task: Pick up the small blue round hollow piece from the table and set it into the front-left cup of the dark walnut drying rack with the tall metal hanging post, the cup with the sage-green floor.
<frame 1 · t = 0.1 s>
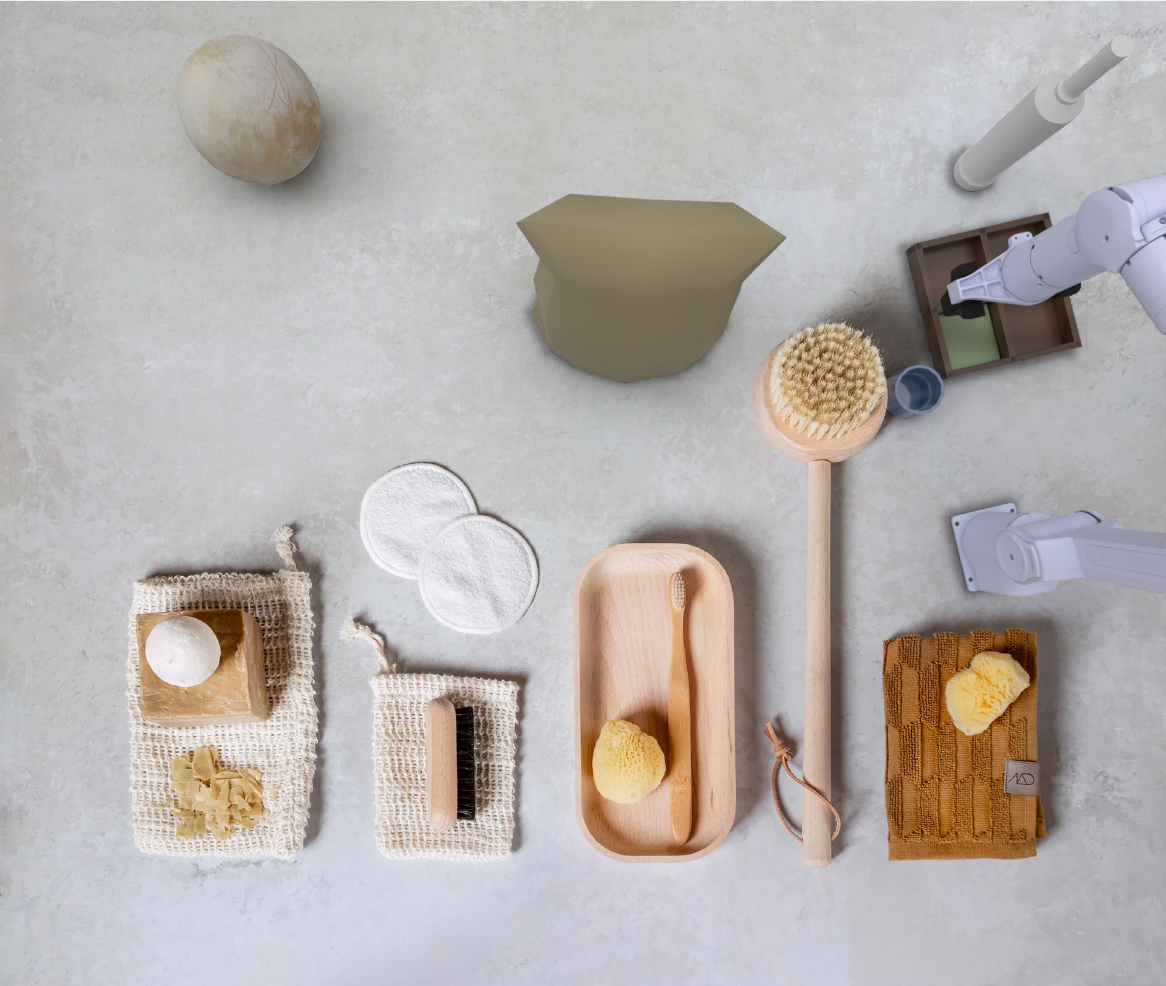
hand: (978, 299, 80), 10 cm above the countertop, tool pointing down, fingers open, 7 cm apart
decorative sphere: (280, 146, 90), on the countertop
rack: (1118, 235, 68), on the countertop
container: (627, 319, 90), on the countertop
blue round hollow piece: (902, 395, 90), on the countertop
bottle: (970, 173, 91), on the countertop
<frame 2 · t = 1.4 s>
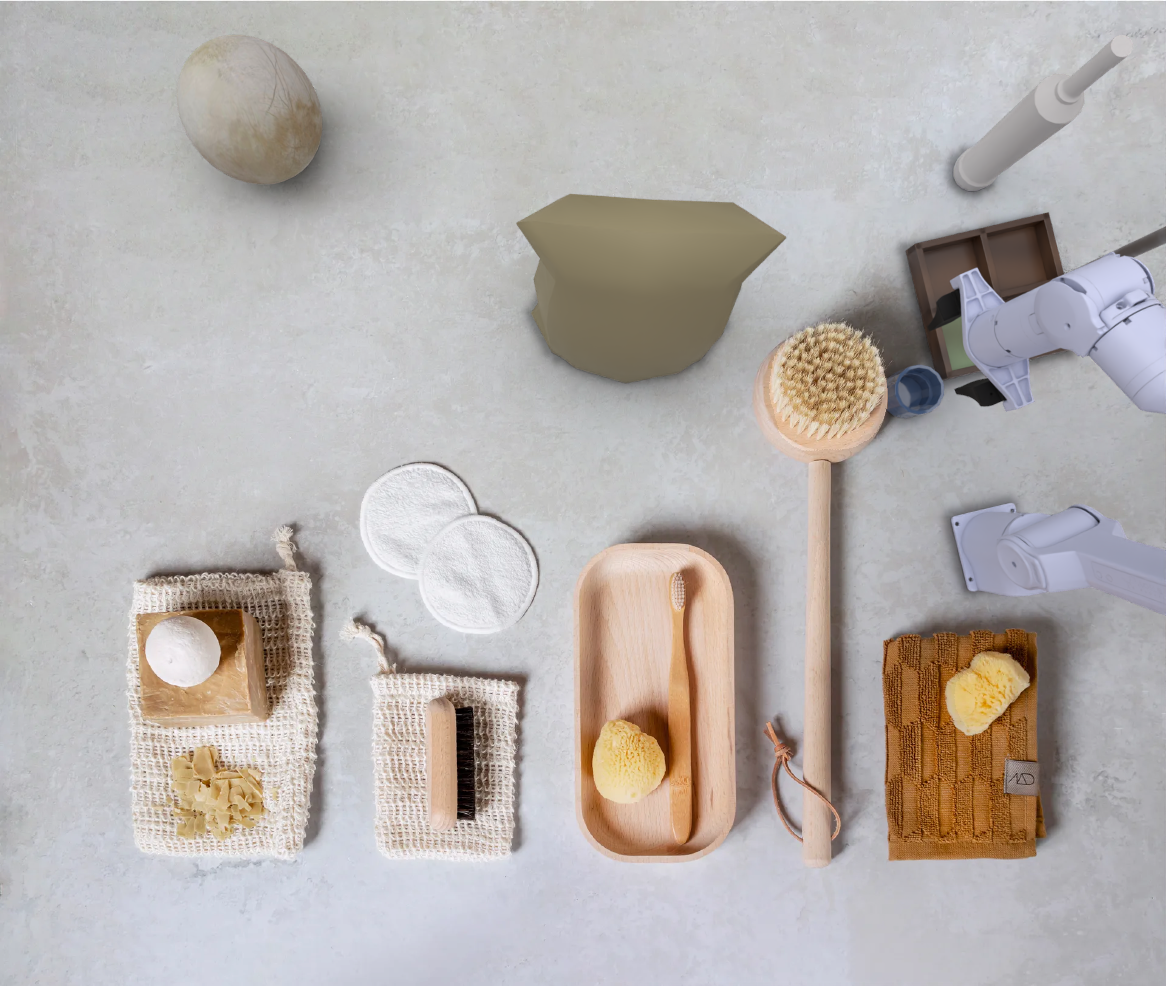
hand: (949, 357, 81), 9 cm above the countertop, tool pointing down, fingers open, 7 cm apart
nothing on the countertop moved.
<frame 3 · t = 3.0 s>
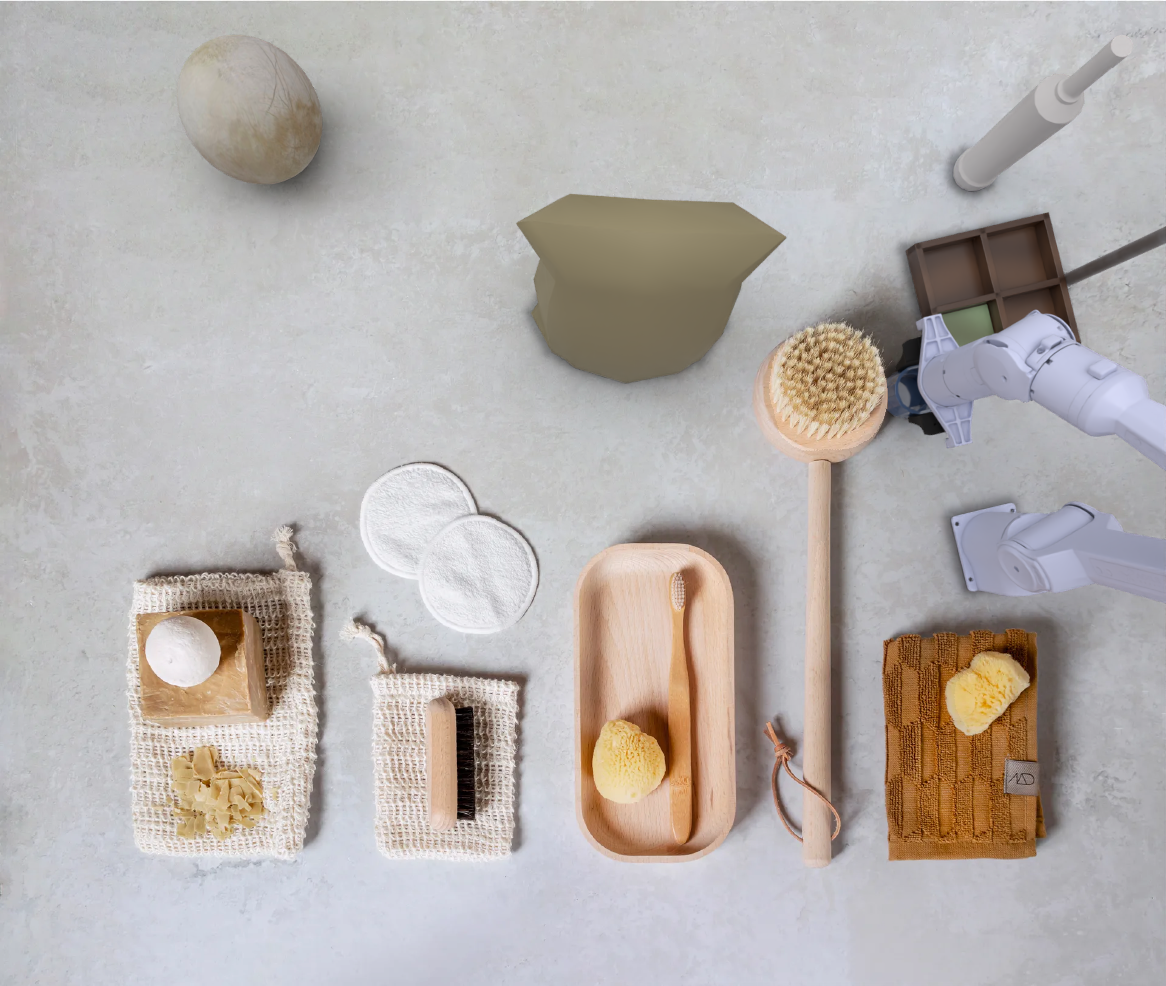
hand: (909, 392, 88), 2 cm above the countertop, tool pointing down, fingers closed on blue round hollow piece, 6 cm apart
blue round hollow piece: (902, 395, 90), on the countertop, touching gripper
everything else where it was.
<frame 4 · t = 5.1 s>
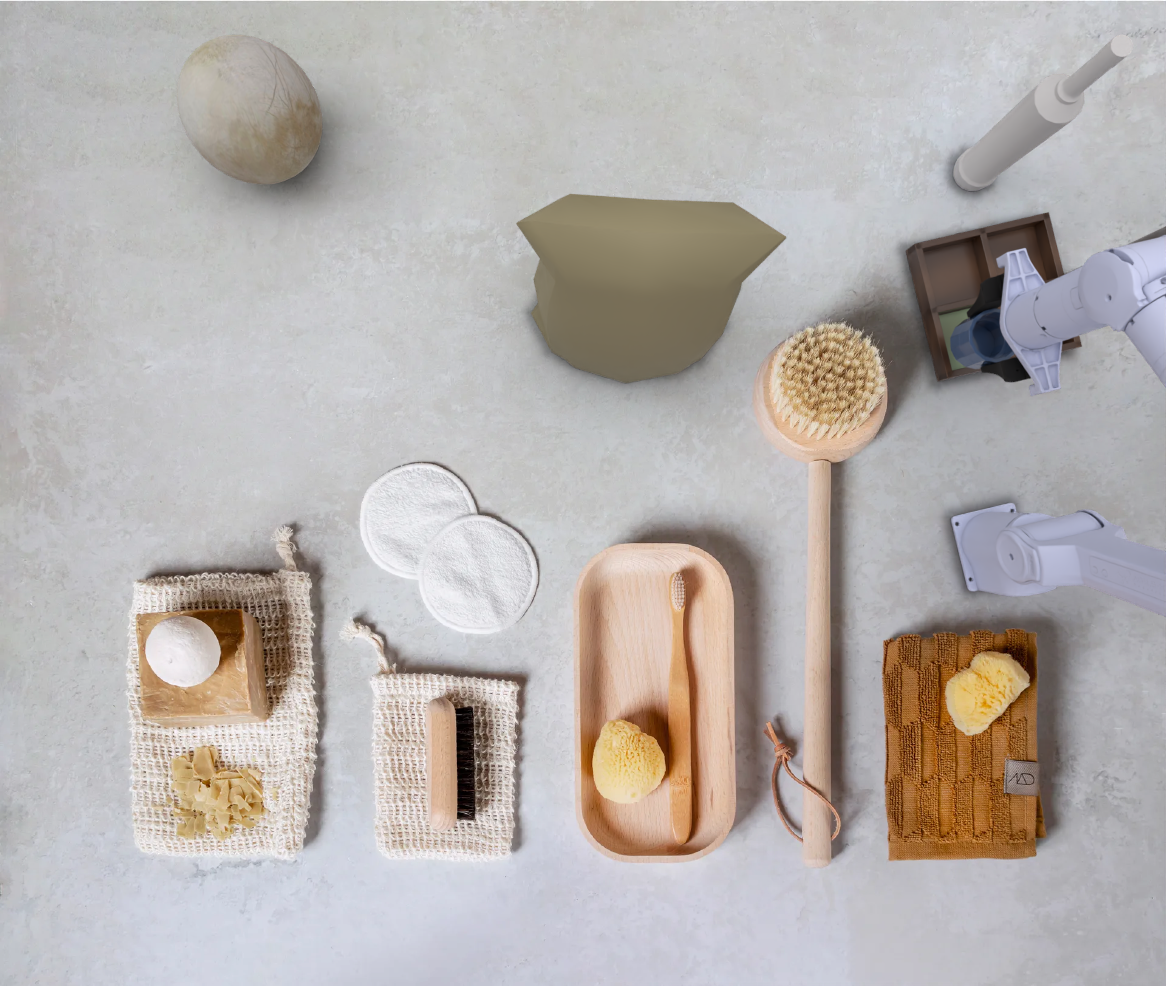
hand: (982, 340, 81), 9 cm above the countertop, tool pointing down, fingers closed on blue round hollow piece, 6 cm apart
blue round hollow piece: (973, 344, 83), point 7 cm above the countertop, touching gripper
everything else where it was.
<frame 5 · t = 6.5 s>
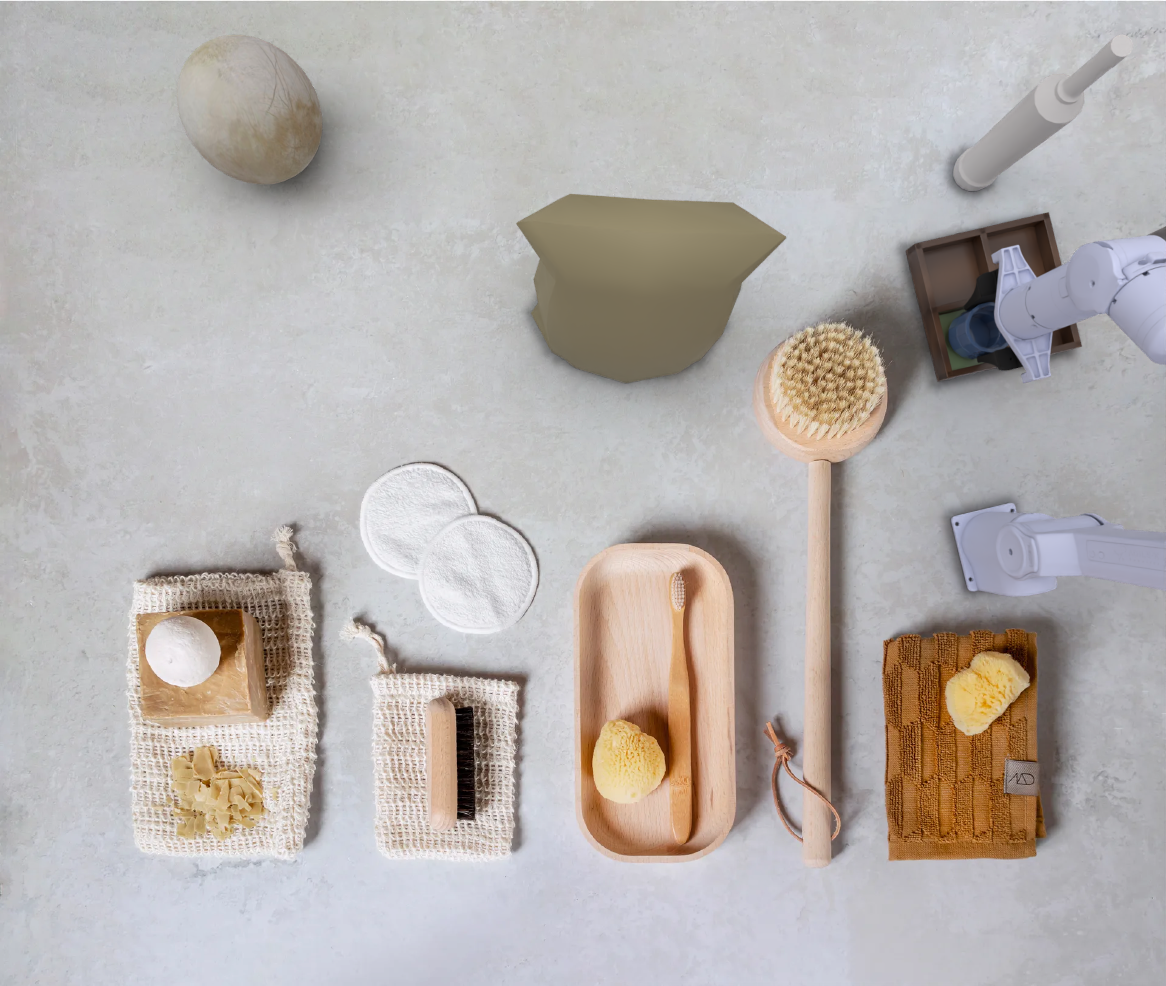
hand: (978, 332, 87), 3 cm above the countertop, tool pointing down, fingers closed on blue round hollow piece, 6 cm apart
blue round hollow piece: (969, 336, 88), point 2 cm above the countertop, touching gripper
everything else where it was.
when the fingers open (3 cm above the countertop, at t = 7.4 s): blue round hollow piece stays where it is, resting on rack.
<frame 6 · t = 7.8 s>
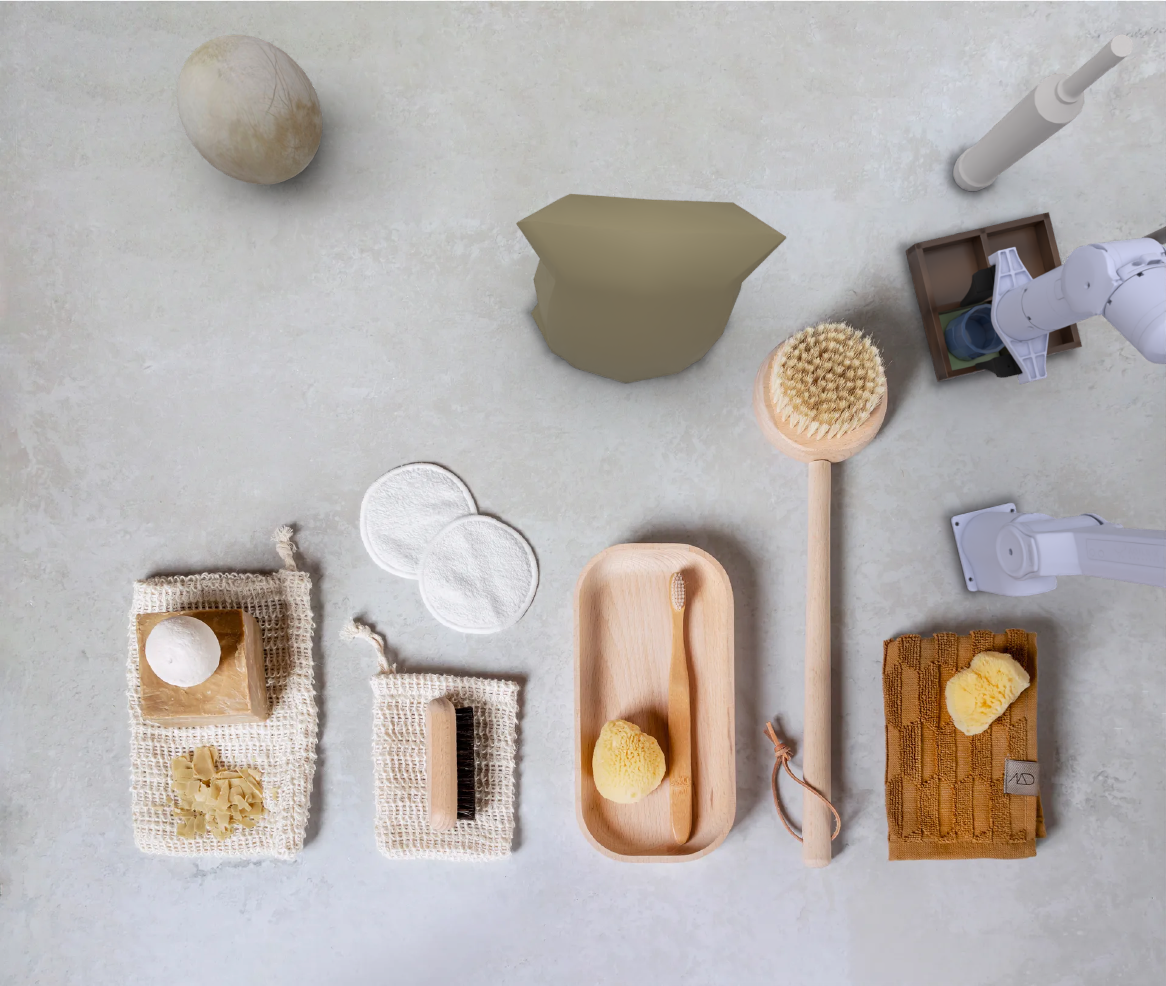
hand: (975, 333, 87), 3 cm above the countertop, tool pointing down, fingers open, 7 cm apart
blue round hollow piece: (966, 337, 89), point 1 cm above the countertop, touching rack
everything else where it was.
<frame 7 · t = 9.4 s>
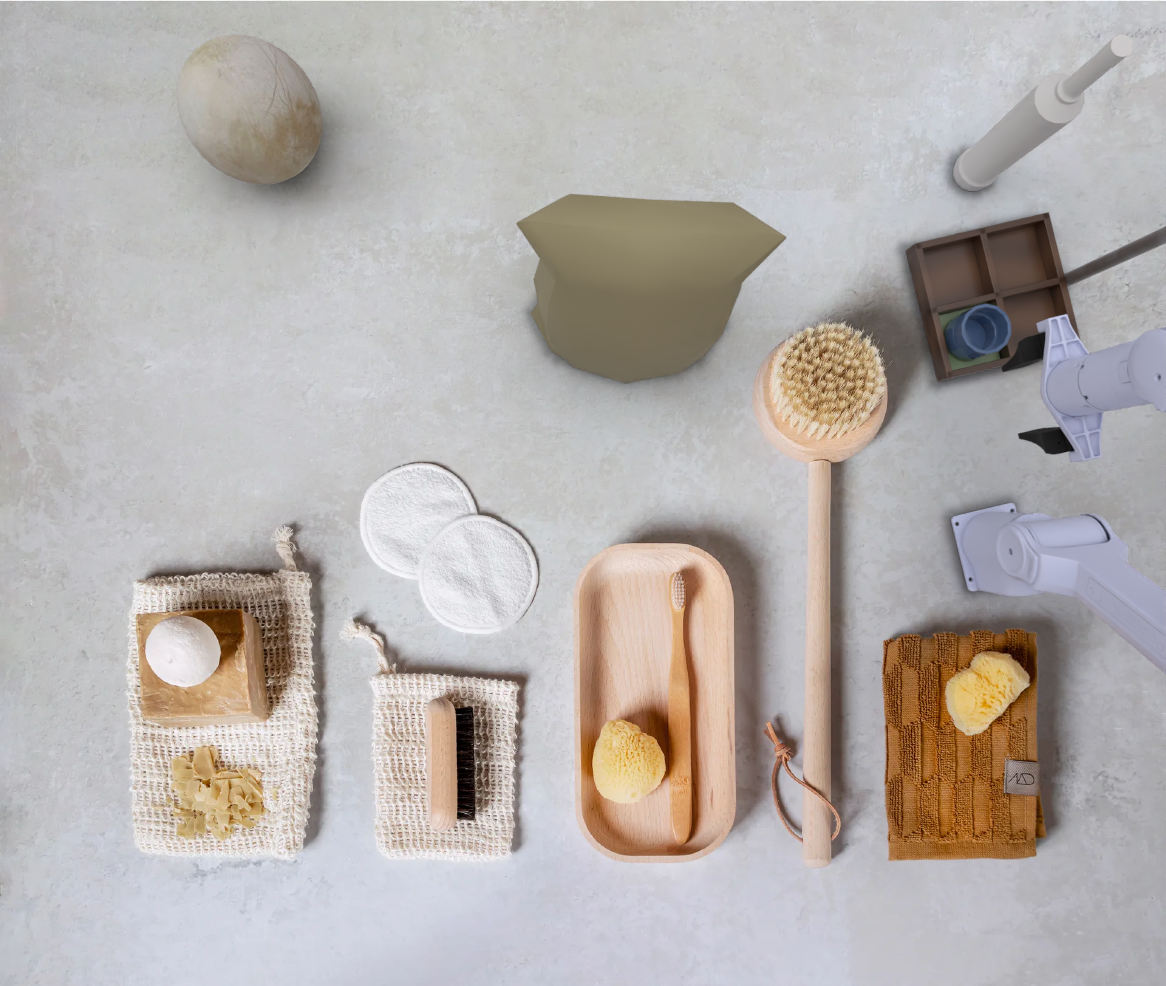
hand: (1018, 400, 81), 9 cm above the countertop, tool pointing down, fingers open, 7 cm apart
nothing on the countertop moved.
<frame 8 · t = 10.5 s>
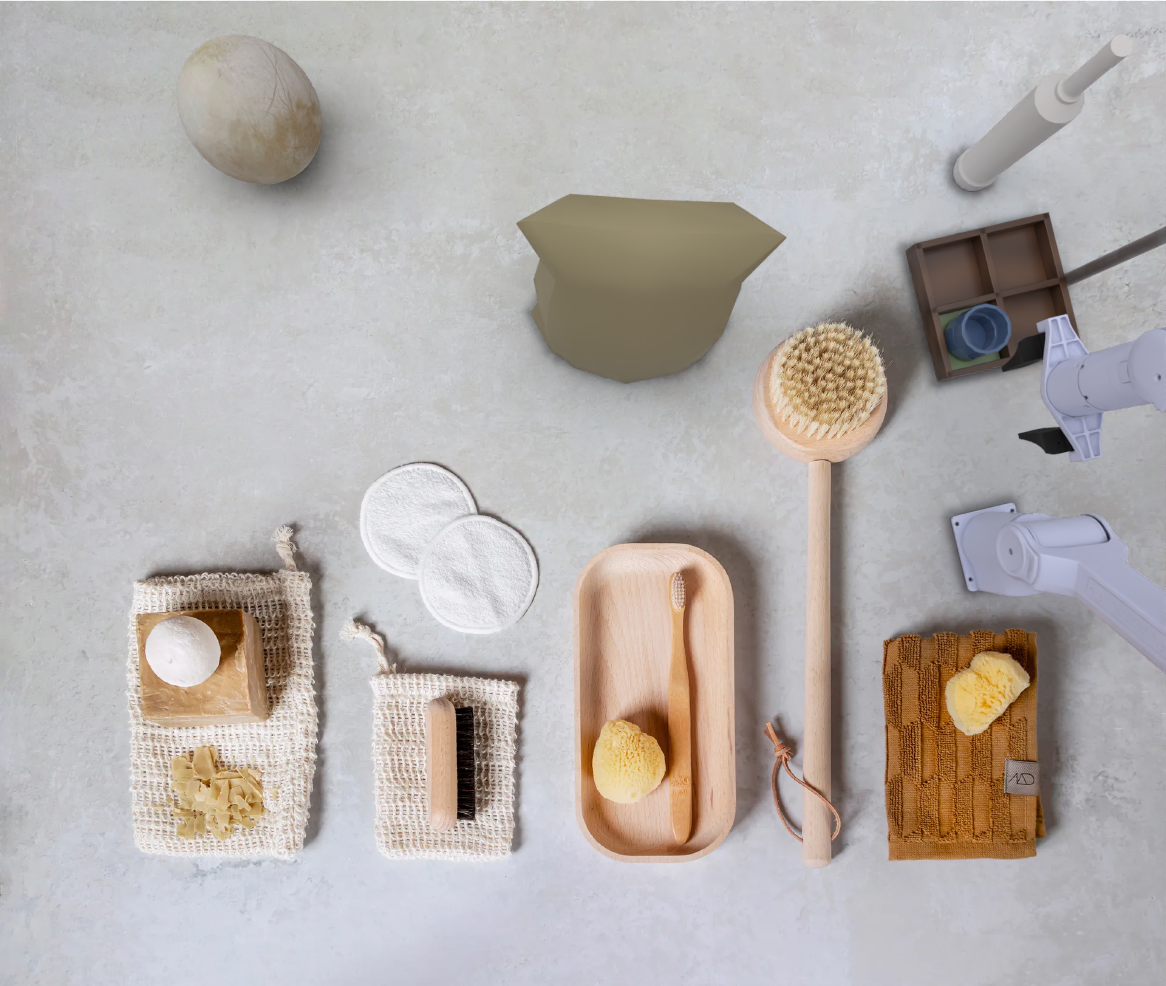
hand: (1018, 400, 81), 9 cm above the countertop, tool pointing down, fingers open, 7 cm apart
nothing on the countertop moved.
at the end: blue round hollow piece 0.1 cm from the target spot, point 0.7 cm above the countertop; blue round hollow piece tilted 0°; the gripper is holding nothing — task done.
